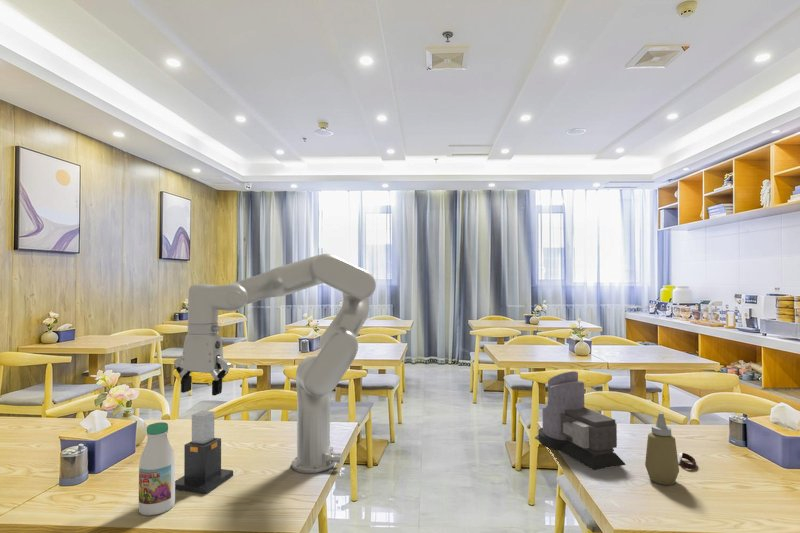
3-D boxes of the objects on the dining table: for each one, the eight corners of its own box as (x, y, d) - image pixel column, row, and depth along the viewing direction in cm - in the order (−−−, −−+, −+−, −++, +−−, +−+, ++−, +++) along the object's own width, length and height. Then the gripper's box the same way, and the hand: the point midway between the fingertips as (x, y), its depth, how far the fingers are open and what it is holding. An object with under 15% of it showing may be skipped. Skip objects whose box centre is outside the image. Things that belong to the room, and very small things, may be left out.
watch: (677, 459, 137) (677, 447, 137) (695, 462, 134) (695, 450, 134) (677, 468, 130) (677, 456, 130) (697, 472, 128) (696, 459, 128)
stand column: (214, 473, 124) (214, 411, 124) (204, 480, 120) (204, 416, 120) (201, 472, 125) (201, 410, 125) (191, 478, 121) (191, 415, 121)
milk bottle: (147, 500, 113) (148, 420, 113) (180, 499, 113) (180, 419, 113) (132, 517, 105) (132, 430, 105) (166, 515, 105) (167, 429, 106)
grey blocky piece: (526, 435, 157) (525, 365, 157) (565, 430, 162) (564, 362, 162) (587, 471, 128) (586, 385, 129) (632, 464, 133) (630, 380, 134)
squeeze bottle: (667, 490, 117) (666, 420, 117) (638, 477, 124) (637, 411, 124) (686, 483, 120) (685, 415, 121) (656, 471, 128) (656, 407, 128)
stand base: (233, 475, 126) (233, 436, 126) (206, 494, 116) (206, 451, 116) (199, 471, 129) (199, 432, 129) (170, 489, 118) (171, 447, 119)
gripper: (238, 329, 124) (237, 392, 124) (185, 326, 129) (184, 387, 128) (221, 332, 117) (220, 399, 117) (165, 329, 122) (164, 393, 121)
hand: (201, 392), depth 123 cm, fingers open, 9 cm apart
